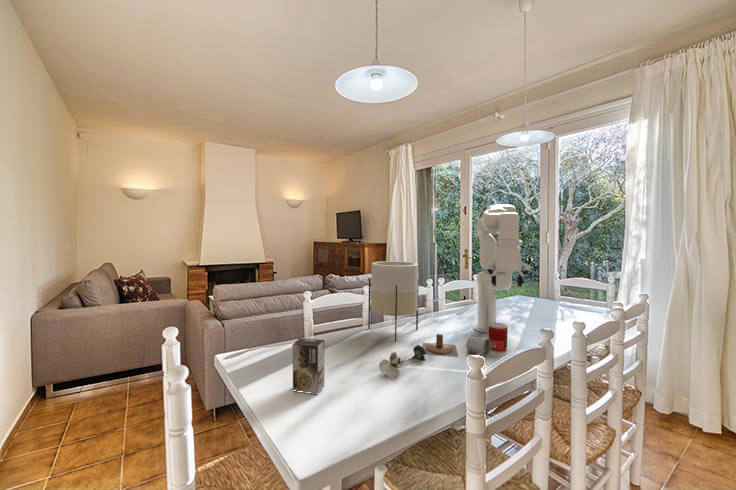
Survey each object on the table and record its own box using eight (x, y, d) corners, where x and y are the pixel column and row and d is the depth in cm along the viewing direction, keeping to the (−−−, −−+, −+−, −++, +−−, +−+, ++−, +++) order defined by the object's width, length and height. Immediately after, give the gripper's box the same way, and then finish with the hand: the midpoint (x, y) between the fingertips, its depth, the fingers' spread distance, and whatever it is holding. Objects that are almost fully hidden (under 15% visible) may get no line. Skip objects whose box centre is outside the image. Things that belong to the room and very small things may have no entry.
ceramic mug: (473, 349, 154) (473, 332, 153) (491, 354, 148) (491, 337, 148) (461, 356, 146) (462, 338, 146) (479, 361, 141) (480, 343, 140)
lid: (426, 344, 158) (427, 330, 158) (451, 346, 156) (451, 332, 156) (426, 352, 148) (427, 337, 147) (453, 354, 146) (453, 339, 145)
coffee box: (325, 386, 116) (325, 339, 116) (318, 395, 110) (318, 345, 109) (300, 383, 119) (300, 337, 118) (291, 392, 112) (291, 343, 112)
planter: (410, 345, 159) (412, 267, 157) (356, 338, 168) (357, 264, 166) (420, 329, 184) (422, 262, 182) (373, 324, 193) (374, 260, 191)
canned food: (508, 352, 151) (509, 327, 150) (489, 351, 152) (490, 326, 152) (505, 346, 158) (505, 323, 158) (487, 345, 160) (487, 322, 159)
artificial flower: (430, 366, 138) (434, 345, 135) (388, 388, 124) (391, 366, 121) (414, 354, 144) (417, 334, 141) (372, 374, 131) (375, 352, 127)
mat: (422, 344, 161) (422, 342, 161) (455, 346, 158) (455, 345, 158) (421, 355, 146) (421, 354, 146) (458, 358, 143) (458, 356, 143)
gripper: (528, 243, 141) (526, 285, 141) (484, 242, 143) (483, 283, 144) (533, 244, 133) (532, 288, 134) (487, 243, 136) (486, 286, 137)
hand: (506, 285), depth 139 cm, fingers open, 9 cm apart
